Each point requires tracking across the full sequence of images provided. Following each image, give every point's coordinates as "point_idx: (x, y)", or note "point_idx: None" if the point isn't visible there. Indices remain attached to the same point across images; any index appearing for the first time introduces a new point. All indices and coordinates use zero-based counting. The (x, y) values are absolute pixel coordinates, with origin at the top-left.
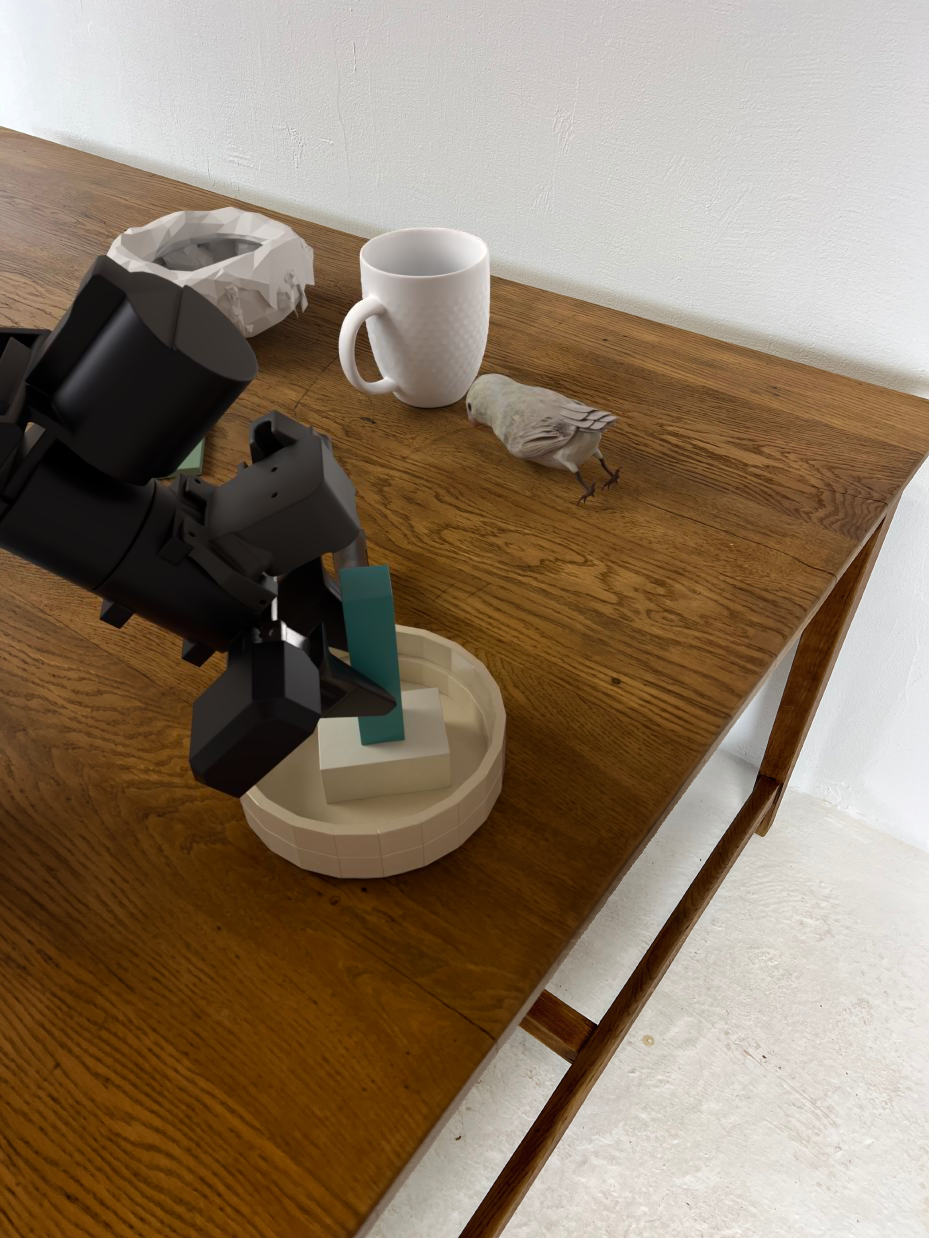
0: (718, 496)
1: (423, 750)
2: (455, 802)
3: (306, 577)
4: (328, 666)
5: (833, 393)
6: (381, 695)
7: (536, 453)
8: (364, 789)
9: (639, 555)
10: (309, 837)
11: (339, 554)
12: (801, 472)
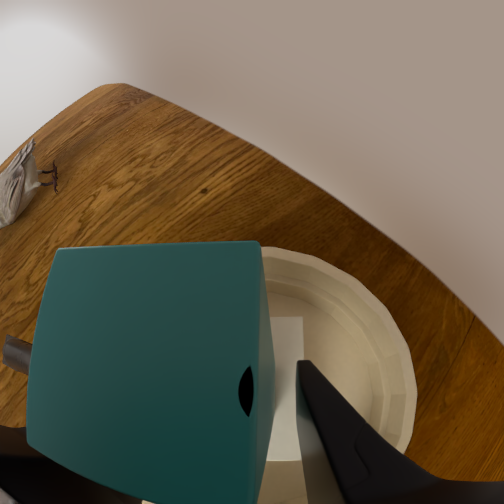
0: (95, 134)
1: (294, 345)
2: (387, 311)
3: (44, 493)
4: (479, 482)
5: (78, 103)
6: (328, 381)
7: (18, 202)
8: None
9: (107, 167)
10: None
11: (18, 365)
12: (105, 109)
